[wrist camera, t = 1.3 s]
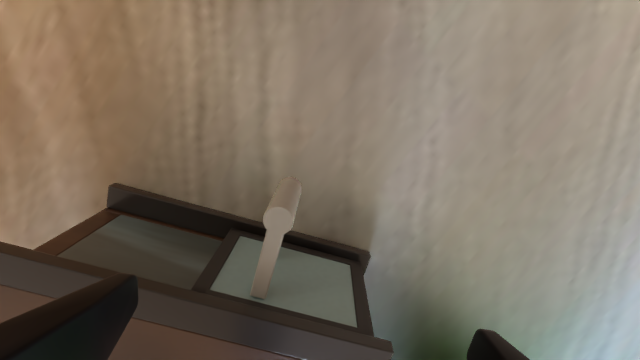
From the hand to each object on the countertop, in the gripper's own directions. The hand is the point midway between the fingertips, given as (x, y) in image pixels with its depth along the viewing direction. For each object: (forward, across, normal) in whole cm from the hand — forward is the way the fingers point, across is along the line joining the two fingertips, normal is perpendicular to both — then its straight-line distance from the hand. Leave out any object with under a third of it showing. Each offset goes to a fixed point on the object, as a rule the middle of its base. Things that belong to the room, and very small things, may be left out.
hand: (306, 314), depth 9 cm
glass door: (+12, +1, +3) cm, 13 cm away
